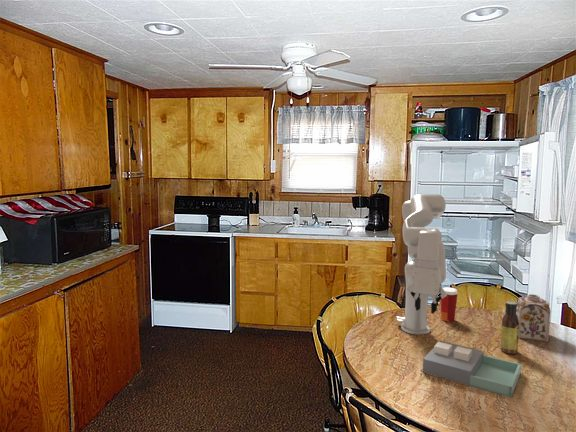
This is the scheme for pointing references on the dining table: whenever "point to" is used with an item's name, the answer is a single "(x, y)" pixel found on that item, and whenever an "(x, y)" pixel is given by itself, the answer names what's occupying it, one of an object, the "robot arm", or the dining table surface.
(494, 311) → the dining table surface
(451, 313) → the coffee cup
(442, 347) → the tile
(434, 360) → the slate block
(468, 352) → the tile
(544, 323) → the decorative jar
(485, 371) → the box
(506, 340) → the sauce bottle
